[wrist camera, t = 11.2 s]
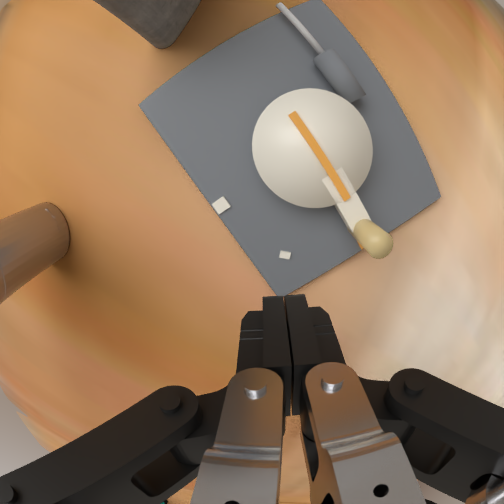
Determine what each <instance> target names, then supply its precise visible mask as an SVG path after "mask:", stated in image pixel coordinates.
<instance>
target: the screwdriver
mask: <svg viewBox="0 0 504 504" xmlns="http://www.w3.org/2000/svg"><path fill="white" fill-rule="evenodd" d="M276 7H277V8H278V9H279V10H280V11H281V12H282V13H283V14H284V15H285V16H286V17H287V18H288V19H289V20H290V21H291V23H292V24H293V25H294V26H295V27H296V28H297V29H298V30H299V32H300V33H301V34H302V35H303V36H304V37H305V39H306V40H307V41H308V42H309V43H310V44H311V46H312V47H313V48H314V49H315V51H316V52H317V53H318V54H319V55H318V56H316V57H315V58H314V59H313V62H314V63H315V65H316V66H317V67H318V69H319V70H320V71H321V73H322V74H323V75H324V77H325V78H326V80H327V81H328V82H329V84H330V85H331V87H332V88H333V89H334V91H335V92H336V94H337V95H339V96H341V97H342V98H344V99H345V100H347V101H348V102H349V103H352V102H354V101H355V100H357V99H359V98H361V97H363V96H365V95H366V93H365V92H364V90H363V89H362V87H361V86H360V84H359V83H358V81H357V80H356V78H355V77H354V75H353V74H352V73H351V71H350V70H349V68H348V67H347V66H346V64H345V63H344V61H343V60H342V59H341V57H340V56H339V55H338V53H337V52H336V51H335V50H334V49H329V50H327V51H324V50H323V48H322V47H321V46H320V45H319V43H318V42H317V41H316V40H315V39H314V37H313V36H312V35H311V34H310V33H309V31H308V30H307V29H306V28H305V27H304V26H303V25H302V24H301V22H300V21H299V20H298V19H297V18H296V17H295V16H294V15H293V14H292V13H291V12H290V11H289V10H288V9H287V8H286V7H285V6H284V5H283V4H282V3H281V2H280V3H278V4H277V5H276Z"/></svg>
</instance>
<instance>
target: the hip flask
mask: <svg viewBox="0 0 504 504" xmlns="http://www.w3.org/2000/svg"><path fill="white" fill-rule="evenodd" d="M94 1H95V2H97V3H98V4H100V5H101V6H102V7H104V8H105V9H107V10H108V11H109V12H111V13H112V14H114V15H115V16H116V17H118V18H119V19H120V20H122V21H123V22H124V23H126V24H127V25H128V26H130V27H131V28H132V29H133V30H135V31H136V32H137V33H139V34H140V35H141V36H142V37H144V38H145V39H146V40H147V41H148V42H150V43H151V44H152V45H153V46H155V47H156V48H159V49H162V48H166V47H169V46H170V45H171V44H173V43H174V41H175V40H176V39H177V37H178V36H179V34H180V33H181V32H182V30H183V29H184V27H185V26H186V24H187V23H188V21H189V20H190V18H191V16H192V15H193V13H194V12H195V10H196V8H197V7H198V5H199V3H200V1H201V0H94Z"/></svg>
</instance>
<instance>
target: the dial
mask: <svg viewBox="0 0 504 504" xmlns="http://www.w3.org/2000/svg"><path fill="white" fill-rule="evenodd" d="M252 153H253V159H254V162H255V166H256V168H257V171H258V173H259V175H260V176H261V178H262V180H263V181H264V183H265V184H266V185H267V186H268V187H269V188H270V189H271V190H272V191H273V192H274V193H275V194H276V195H278V196H279V197H280V198H282V199H284V200H285V201H287V202H289V203H292V204H294V205H297V206H301V207H307V208H323V207H329V206H333V205H334V206H335V207H336V209H337V211H338V212H339V214H340V216H341V218H342V219H343V221H344V223H345V225H346V226H347V230H348V231H349V233H350V234H351V235H352V236H353V237H354V238H355V239H356V240H357V241H358V242H359V243H360V244H361V245H362V247H363V248H364V249H365V250H366V251H367V252H368V253H369V254H370V255H371V256H372V257H373V258H376V259H381V258H384V257H386V256H387V255H388V254H389V253H390V252H391V250H392V247H393V240H392V237H391V236H390V235H389V234H388V233H387V232H385V231H384V230H383V229H382V228H380V227H379V226H378V225H376V224H375V223H374V222H372V221H371V219H370V217H369V215H368V213H367V211H366V209H365V207H364V206H363V204H362V202H361V200H360V198H359V196H358V195H357V193H356V191H357V190H358V189H359V188H360V186H361V185H362V184H363V182H364V181H365V179H366V177H367V175H368V173H369V170H370V167H371V163H372V157H373V145H372V138H371V134H370V131H369V128H368V126H367V124H366V122H365V120H364V118H363V117H362V115H361V114H360V113H359V111H358V110H357V109H356V108H355V107H354V106H353V105H352V104H351V103H349V102H348V101H347V100H345V99H344V98H342V97H341V96H339V95H337V94H335V93H332V92H329V91H326V90H322V89H315V88H305V89H298V90H293V91H291V92H288V93H285V94H283V95H281V96H280V97H278V98H277V99H275V100H274V101H272V102H271V103H270V104H269V105H268V106H267V107H266V108H265V110H264V111H263V112H262V114H261V115H260V117H259V119H258V121H257V123H256V126H255V129H254V133H253V138H252Z"/></svg>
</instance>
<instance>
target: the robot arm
mask: <svg viewBox="0 0 504 504" xmlns="http://www.w3.org/2000/svg"><path fill="white" fill-rule="evenodd" d="M69 240H70V237H69V230H68V225H67V223H66V220H65V218H64V216H63V214H62V213H61V212H60V210H59V209H58V208H57V207H56V206H54V205H53V204H51V203H47V202H46V203H41V204H38V205H35V206H33V207H30V208H28V209H25V210H22V211H20V212H18V213H15V214H13V215H10V216H8V217H6V218H4V219H1V220H0V304H1V303H2V302H3V301H4V300H6V299H7V298H8V297H9V296H11V295H12V294H13V293H14V292H16V291H17V290H18V289H19V288H21V287H22V286H23V285H25V284H26V283H27V282H29V281H30V280H31V279H33V278H34V277H35V276H37V275H38V274H39V273H41V272H42V271H44V270H45V269H47V268H48V267H49V266H51V265H52V264H54V263H55V262H57V261H58V260H59V259H61V258H62V257H63V256H64V255H65V254H66V252H67V250H68V247H69ZM291 406H292V415H300V420H301V431H300V437H301V442H302V447H303V452H304V457H305V462H306V468H307V473H308V478H309V484H310V502H311V504H436V503H434V502H432V501H429V500H426V499H424V497H423V494H422V492H421V489H420V487H419V484H418V482H417V479H418V480H420V481H421V482H423V483H426V484H427V485H429V486H431V487H433V488H435V489H437V490H439V491H441V492H443V493H445V494H447V495H449V496H451V497H454V498H456V499H458V500H460V501H462V502H464V503H465V504H504V408H502V407H500V406H497V405H495V404H493V403H491V402H489V401H486V400H484V399H482V398H480V397H478V396H475V395H473V394H471V393H469V392H467V391H465V390H462V389H460V388H458V387H456V386H454V385H452V384H450V383H448V382H445V381H443V380H441V379H439V378H437V377H435V376H433V375H431V374H429V373H427V372H425V371H422V370H419V369H414V368H409V369H403V370H401V371H398V372H397V373H395V374H394V375H393V376H392V378H391V380H390V381H377V380H368V379H364V378H361V377H359V376H358V375H357V374H356V372H355V371H354V370H353V369H352V368H351V367H349V366H347V365H346V363H345V360H344V357H343V354H342V351H341V348H340V345H339V342H338V339H337V337H336V334H335V331H334V328H333V326H332V322H331V320H330V317H329V314H328V313H327V312H326V311H324V310H323V309H322V308H321V307H309V308H308V304H307V301H306V297H305V294H299V295H284V300H283V296H268V297H263V311H248V313H247V314H246V315H245V316H244V318H243V319H242V322H241V332H240V340H239V350H238V359H237V369H236V375H234V376H233V377H232V378H231V380H230V382H229V384H228V385H227V386H226V387H225V388H223V389H221V390H219V391H216V392H213V393H208V394H204V395H199V396H196V395H195V394H194V393H193V392H192V391H191V390H189V389H188V388H185V387H182V386H166V387H163V388H160V389H158V390H156V391H155V392H153V393H152V394H150V395H149V396H147V397H145V398H144V399H142V400H141V401H139V402H138V403H136V404H134V405H133V406H131V407H130V408H128V409H126V410H125V411H123V412H122V413H120V414H118V415H117V416H115V417H113V418H112V419H110V420H108V421H107V422H105V423H103V424H102V425H100V426H98V427H96V428H95V429H93V430H91V431H90V432H88V433H86V434H84V435H83V436H81V437H79V438H77V439H75V440H74V441H72V442H70V443H68V444H66V445H64V446H63V447H61V448H59V449H57V450H55V451H53V452H51V453H49V454H47V455H45V456H43V457H41V458H39V459H37V460H35V461H34V462H31V463H29V464H27V465H25V466H23V467H21V468H19V469H16V470H14V471H12V472H10V473H8V474H5V475H3V476H1V477H0V504H160V503H162V502H163V501H165V500H166V499H168V498H169V497H170V496H172V495H173V494H175V493H176V492H177V491H179V490H180V489H182V488H183V487H184V486H186V485H187V484H188V483H190V482H191V481H192V480H193V479H195V478H196V477H197V480H196V484H195V487H194V491H193V495H192V499H191V503H190V504H279V496H280V480H281V464H282V446H283V436H284V433H285V417H286V416H290V407H291ZM373 493H375V494H373Z"/></svg>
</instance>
